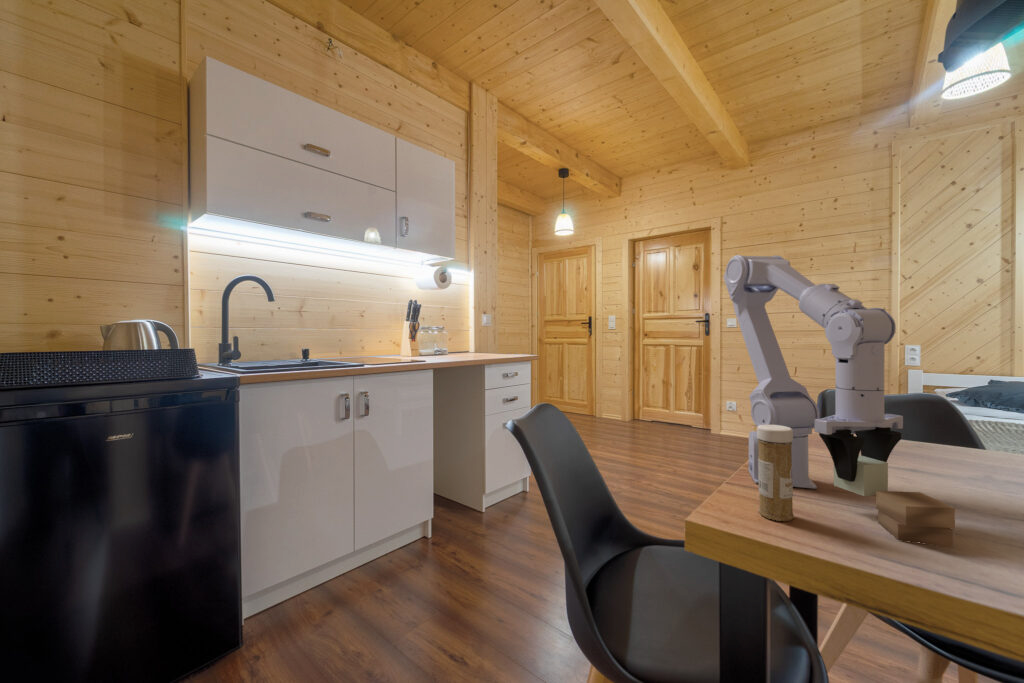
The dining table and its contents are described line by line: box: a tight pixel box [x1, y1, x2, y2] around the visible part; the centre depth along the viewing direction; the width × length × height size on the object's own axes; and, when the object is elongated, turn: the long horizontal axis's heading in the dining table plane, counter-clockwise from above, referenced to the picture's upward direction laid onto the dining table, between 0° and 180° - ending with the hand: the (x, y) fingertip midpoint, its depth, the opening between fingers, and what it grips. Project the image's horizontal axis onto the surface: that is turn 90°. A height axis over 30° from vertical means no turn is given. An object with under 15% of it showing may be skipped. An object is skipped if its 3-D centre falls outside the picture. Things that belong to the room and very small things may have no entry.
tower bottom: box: [877, 510, 954, 548], centre depth 57 cm, size 6×6×3 cm
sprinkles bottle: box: [756, 425, 795, 522], centre depth 63 cm, size 5×5×14 cm
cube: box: [833, 454, 889, 497], centre depth 64 cm, size 4×4×4 cm
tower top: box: [875, 490, 956, 529], centre depth 57 cm, size 6×6×3 cm
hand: (859, 478), depth 64 cm, fingers closed on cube, 4 cm apart
